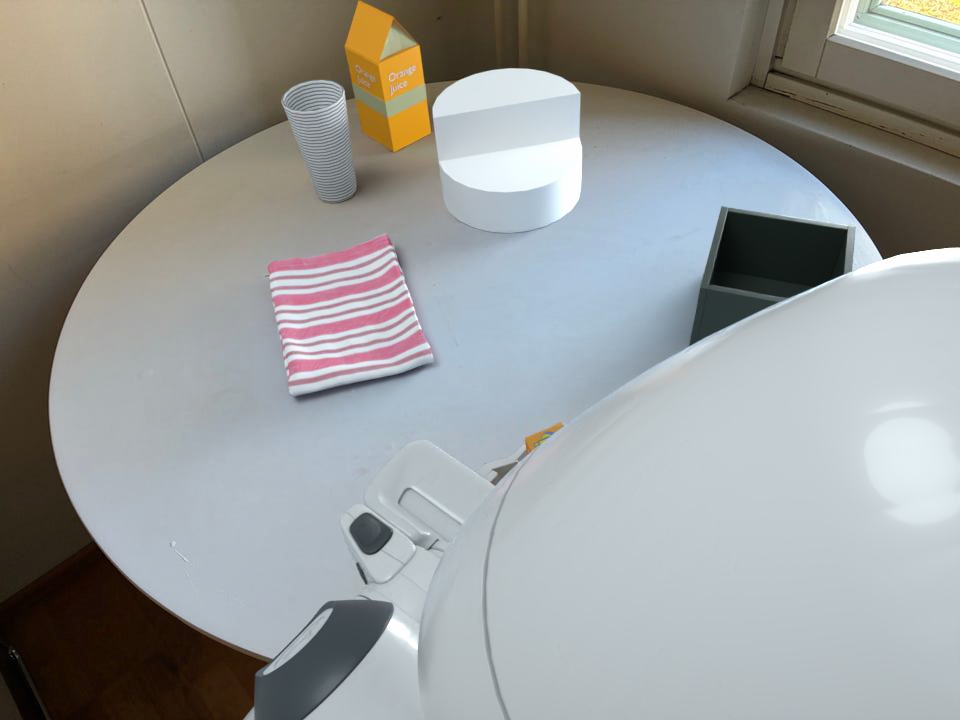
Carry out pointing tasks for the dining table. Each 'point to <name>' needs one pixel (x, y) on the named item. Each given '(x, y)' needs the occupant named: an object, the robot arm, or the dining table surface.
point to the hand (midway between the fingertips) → (561, 470)
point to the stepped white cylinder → (509, 149)
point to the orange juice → (387, 79)
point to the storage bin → (766, 264)
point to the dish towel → (345, 317)
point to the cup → (323, 136)
